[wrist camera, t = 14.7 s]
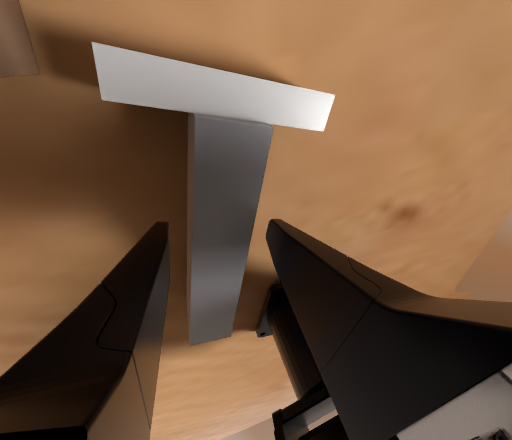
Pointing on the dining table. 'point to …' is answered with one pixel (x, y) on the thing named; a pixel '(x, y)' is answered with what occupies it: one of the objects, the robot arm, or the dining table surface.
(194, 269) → the pusher tool
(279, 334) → the robot arm
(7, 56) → the bay
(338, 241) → the dining table surface
